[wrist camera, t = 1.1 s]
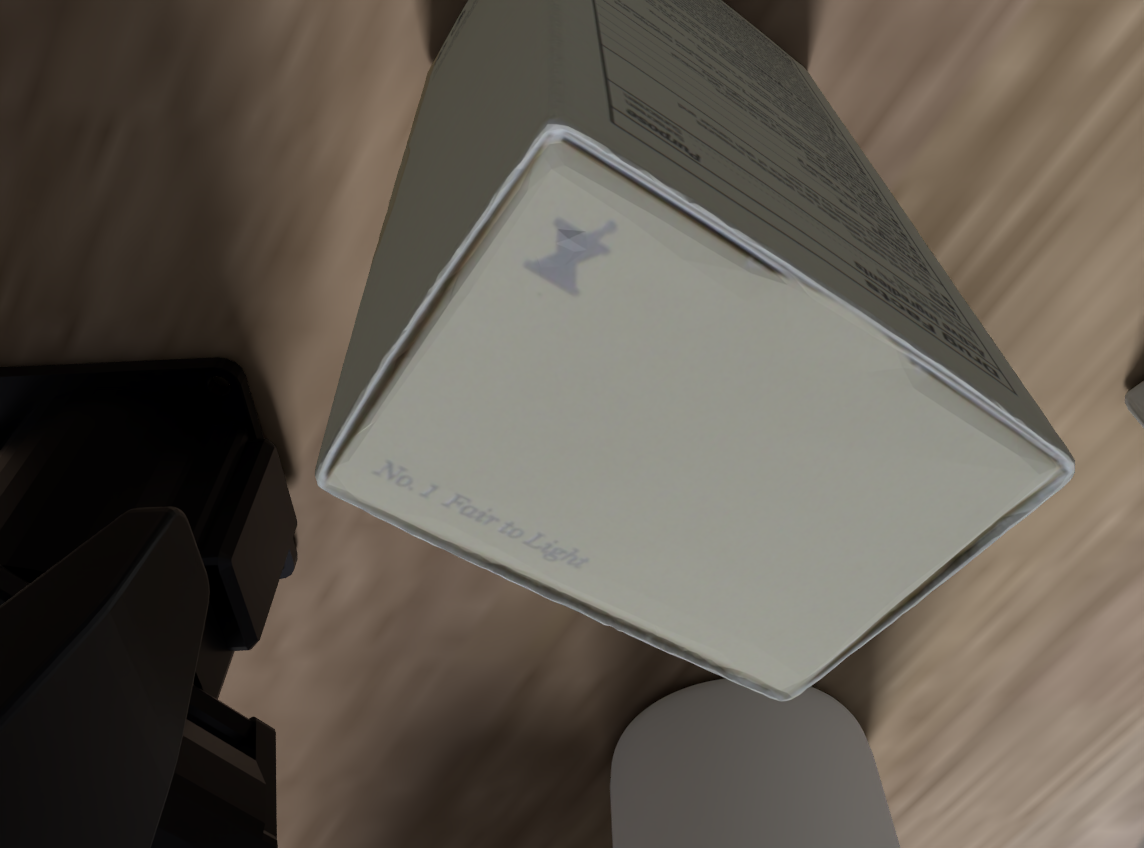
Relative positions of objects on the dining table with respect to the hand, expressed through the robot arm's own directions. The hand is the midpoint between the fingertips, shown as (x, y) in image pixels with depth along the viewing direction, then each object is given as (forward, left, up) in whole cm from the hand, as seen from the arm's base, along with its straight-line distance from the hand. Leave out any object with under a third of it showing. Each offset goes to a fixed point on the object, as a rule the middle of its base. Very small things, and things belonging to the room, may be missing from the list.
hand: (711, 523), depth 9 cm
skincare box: (0, 0, -13) cm, 13 cm away
